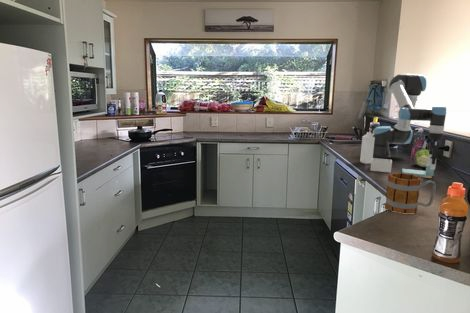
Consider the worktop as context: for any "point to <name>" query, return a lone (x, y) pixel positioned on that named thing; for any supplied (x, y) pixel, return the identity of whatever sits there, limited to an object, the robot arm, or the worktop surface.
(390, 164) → the tub
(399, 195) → the mug
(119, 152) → the worktop surface
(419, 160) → the lettuce
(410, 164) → the worktop surface
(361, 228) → the worktop surface
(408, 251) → the worktop surface
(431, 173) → the lid
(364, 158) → the milk
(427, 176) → the board
